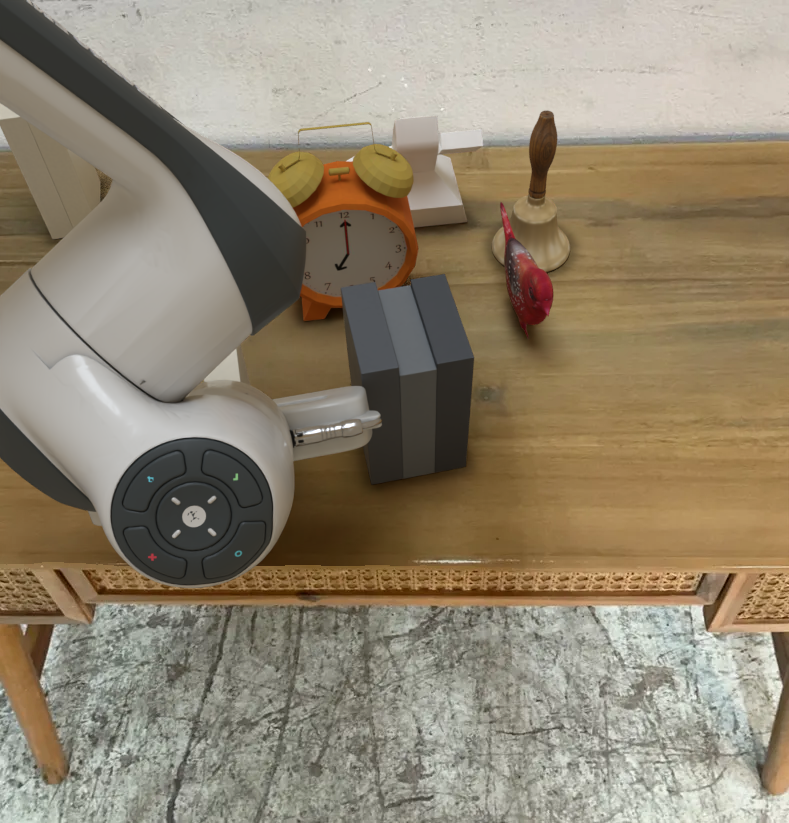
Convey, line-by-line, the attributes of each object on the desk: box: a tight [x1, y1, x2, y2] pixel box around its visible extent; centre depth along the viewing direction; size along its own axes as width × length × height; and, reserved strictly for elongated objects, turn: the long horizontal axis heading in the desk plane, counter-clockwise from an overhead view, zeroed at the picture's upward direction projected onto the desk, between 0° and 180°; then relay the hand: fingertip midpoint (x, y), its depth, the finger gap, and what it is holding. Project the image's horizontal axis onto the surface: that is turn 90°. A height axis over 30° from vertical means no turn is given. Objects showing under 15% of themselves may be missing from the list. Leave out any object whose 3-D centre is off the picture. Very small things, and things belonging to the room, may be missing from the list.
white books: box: [0, 103, 101, 240], centre depth 89 cm, size 5×9×15 cm, turn 12°
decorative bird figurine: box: [499, 201, 554, 340], centre depth 80 cm, size 3×18×10 cm, turn 8°
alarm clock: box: [267, 121, 419, 322], centre depth 77 cm, size 13×6×20 cm, turn 97°
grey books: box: [341, 273, 475, 485], centre depth 69 cm, size 8×9×15 cm
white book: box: [203, 343, 252, 386], centre depth 67 cm, size 3×9×14 cm, turn 12°
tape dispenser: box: [346, 115, 484, 228], centre depth 88 cm, size 8×14×14 cm, turn 97°
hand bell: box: [491, 110, 571, 273], centre depth 83 cm, size 8×8×16 cm
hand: (235, 421), depth 65 cm, fingers closed on white book, 2 cm apart
